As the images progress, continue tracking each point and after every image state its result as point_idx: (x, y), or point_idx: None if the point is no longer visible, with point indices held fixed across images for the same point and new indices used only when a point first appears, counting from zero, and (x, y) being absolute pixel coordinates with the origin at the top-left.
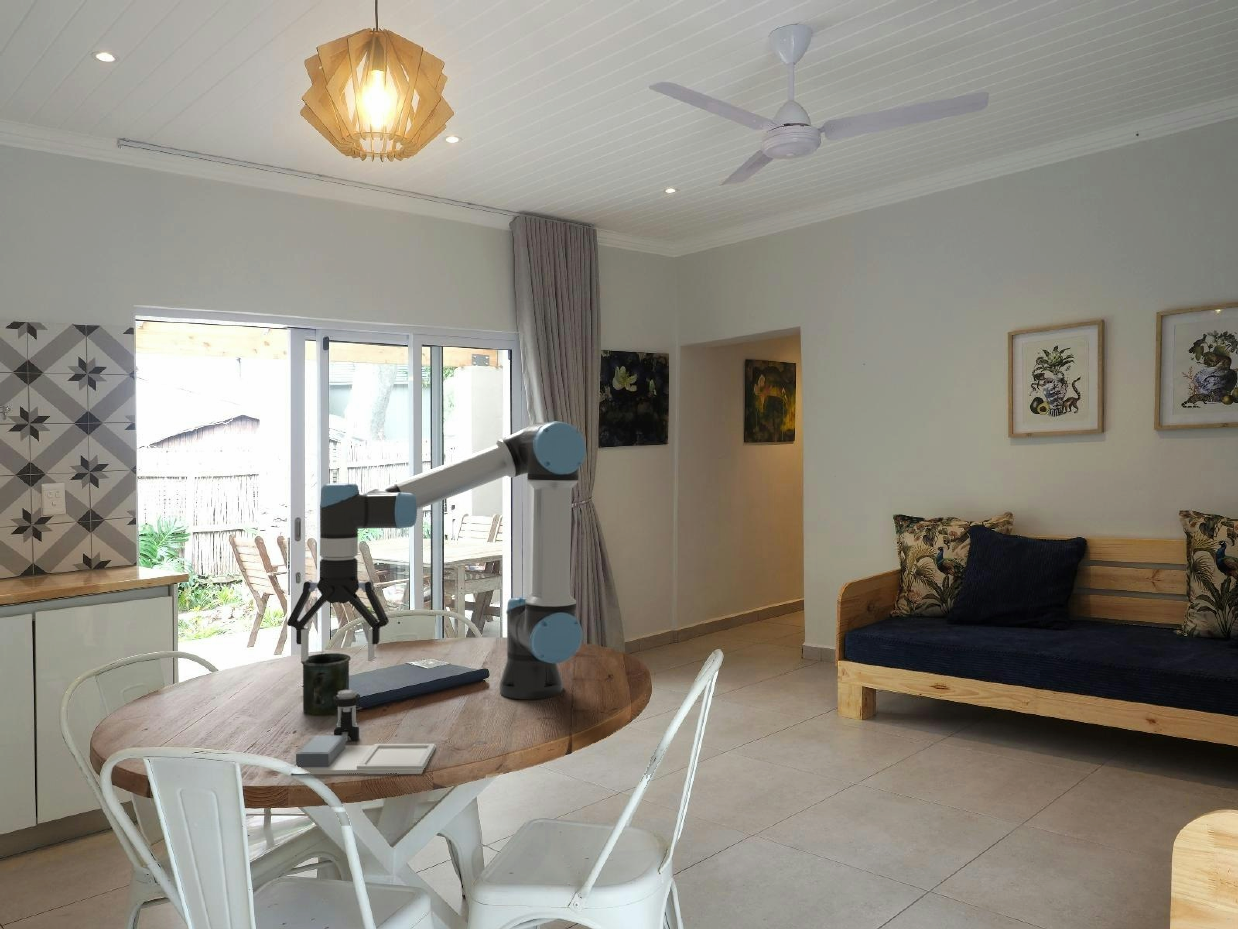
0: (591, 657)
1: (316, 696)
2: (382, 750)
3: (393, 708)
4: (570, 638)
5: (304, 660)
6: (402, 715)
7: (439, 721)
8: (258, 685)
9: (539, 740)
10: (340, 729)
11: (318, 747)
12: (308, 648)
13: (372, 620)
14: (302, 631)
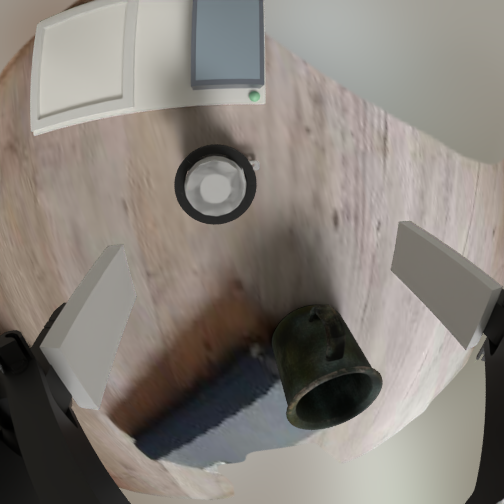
0: None
1: (326, 307)
2: (112, 85)
3: (195, 353)
4: None
5: (401, 222)
6: (163, 321)
7: None
8: (399, 393)
9: None
10: (226, 156)
11: (226, 6)
12: (411, 290)
13: (12, 403)
14: (494, 282)
